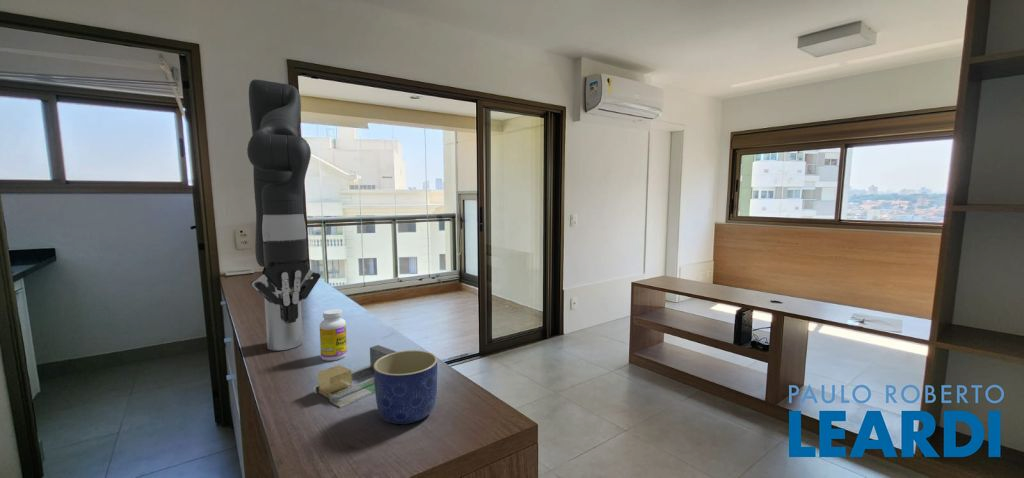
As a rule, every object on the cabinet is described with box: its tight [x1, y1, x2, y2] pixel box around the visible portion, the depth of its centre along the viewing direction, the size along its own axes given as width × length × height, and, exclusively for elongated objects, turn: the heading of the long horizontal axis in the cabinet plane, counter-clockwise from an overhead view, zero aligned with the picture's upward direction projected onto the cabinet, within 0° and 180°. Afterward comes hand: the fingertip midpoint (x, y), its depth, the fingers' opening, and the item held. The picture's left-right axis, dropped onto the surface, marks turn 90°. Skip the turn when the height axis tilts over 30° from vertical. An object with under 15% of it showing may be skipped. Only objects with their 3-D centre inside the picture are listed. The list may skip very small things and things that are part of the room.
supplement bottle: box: [319, 308, 348, 362], centre depth 110 cm, size 7×7×13 cm
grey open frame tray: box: [312, 344, 397, 408], centre depth 93 cm, size 11×17×6 cm, turn 143°
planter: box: [373, 349, 438, 425], centre depth 81 cm, size 12×12×11 cm
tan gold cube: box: [317, 364, 353, 400], centre depth 88 cm, size 8×5×5 cm, turn 53°
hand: (289, 322), depth 81 cm, fingers closed
